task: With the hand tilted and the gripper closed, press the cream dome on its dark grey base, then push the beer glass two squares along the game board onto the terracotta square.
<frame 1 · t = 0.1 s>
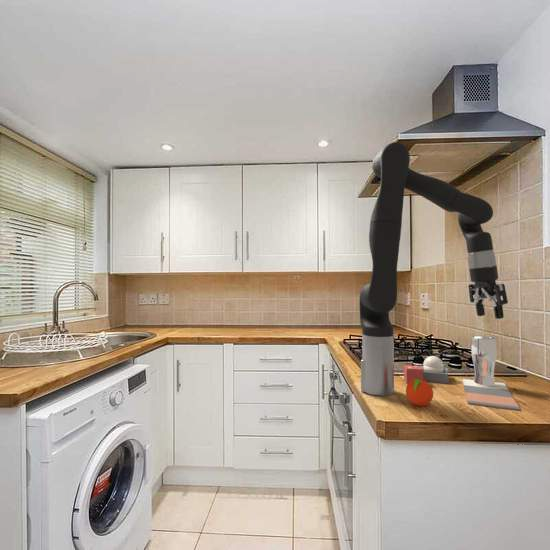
hand: (490, 317, 110), 22 cm above the worktop, tool pointing down, fingers open, 8 cm apart
dome cap: (433, 365, 122), point 5 cm above the worktop, slide at 0.0 cm
game board: (487, 392, 106), on the worktop
beer glass: (484, 384, 114), resting on game board
dome base: (433, 378, 122), on the worktop
die: (413, 382, 117), on the worktop
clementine: (418, 406, 95), on the worktop
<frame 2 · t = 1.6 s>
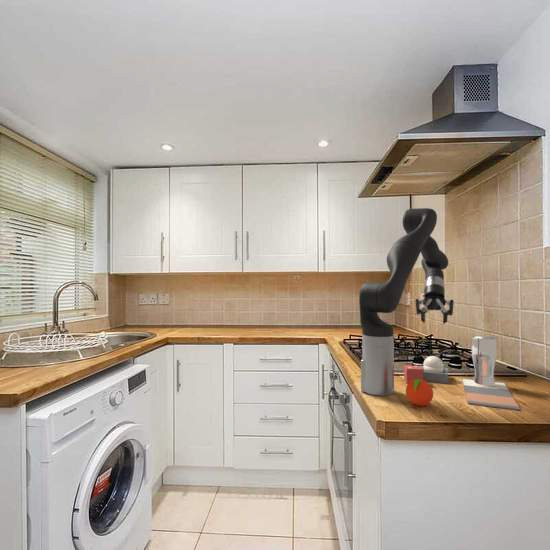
hand: (433, 321, 132), 18 cm above the worktop, tool tilted 45°, fingers open, 6 cm apart
nothing on the worktop moved.
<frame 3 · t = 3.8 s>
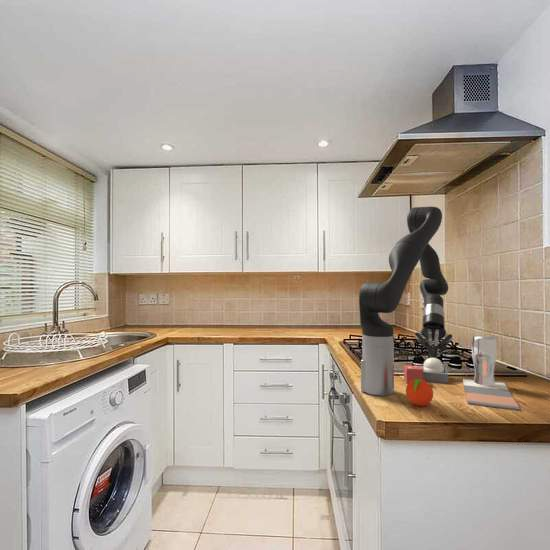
hand: (433, 356, 123), 7 cm above the worktop, tool tilted 45°, fingers closed
dome cap: (433, 367, 122), point 4 cm above the worktop, slide at 0.6 cm, touching gripper
everything else where it was.
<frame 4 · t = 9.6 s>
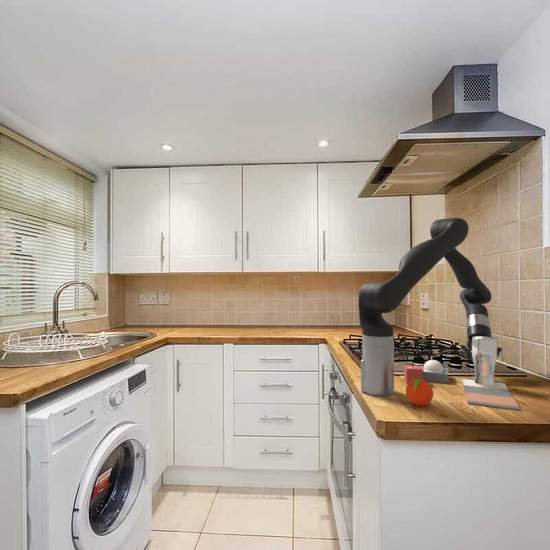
hand: (482, 371, 116), 4 cm above the worktop, tool tilted 45°, fingers closed
dome cap: (433, 369, 122), point 3 cm above the worktop, slide at 1.3 cm
beer glass: (484, 385, 113), resting on game board, touching gripper
everything else where it was.
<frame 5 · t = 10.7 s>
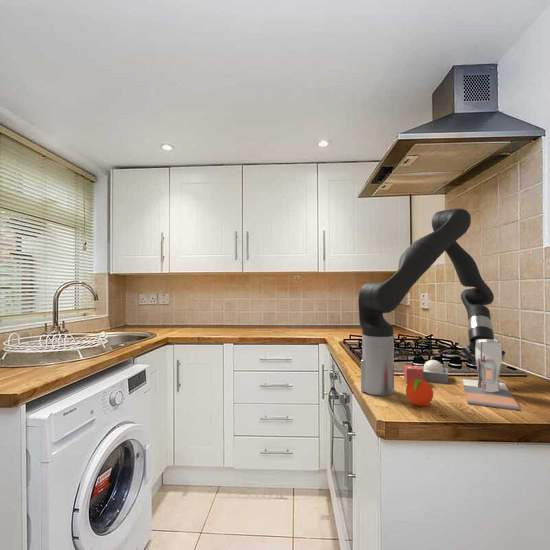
hand: (485, 376, 110), 4 cm above the worktop, tool tilted 45°, fingers closed
beer glass: (488, 390, 107), resting on game board, touching gripper
everything else where it was.
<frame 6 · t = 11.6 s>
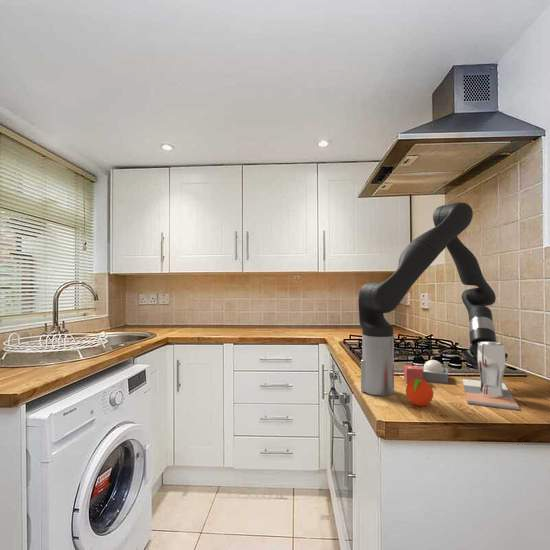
hand: (487, 380, 106), 4 cm above the worktop, tool tilted 45°, fingers closed
beer glass: (491, 395, 103), resting on game board, touching gripper
everything else where it was.
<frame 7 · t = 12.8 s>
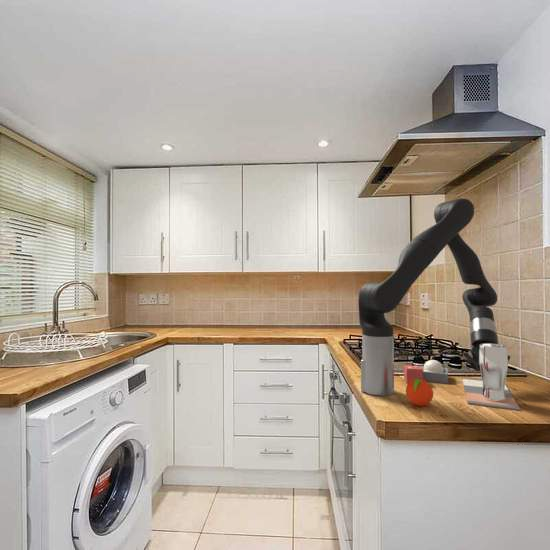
hand: (488, 383, 103), 4 cm above the worktop, tool tilted 45°, fingers closed
beer glass: (493, 399, 100), resting on game board, touching gripper
everything else where it was.
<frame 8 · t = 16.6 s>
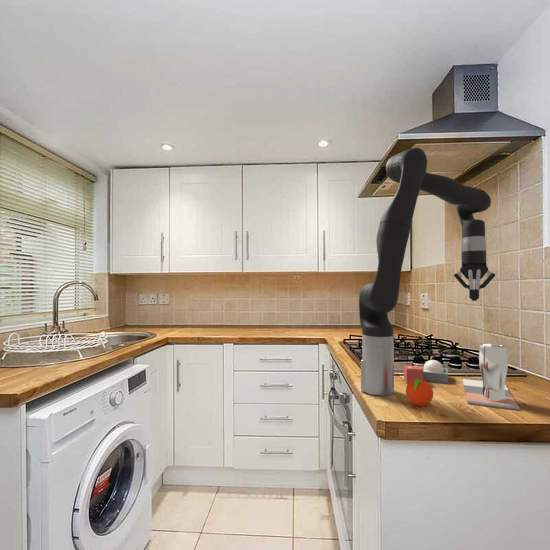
hand: (474, 300, 121), 27 cm above the worktop, tool pointing down, fingers closed
beer glass: (493, 399, 100), resting on game board
everything else where it was.
at the end: dome cap slide at 1.3 cm; beer glass inside the target area (1.2 cm from its centre), resting on game board; beer glass tilted 0° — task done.
